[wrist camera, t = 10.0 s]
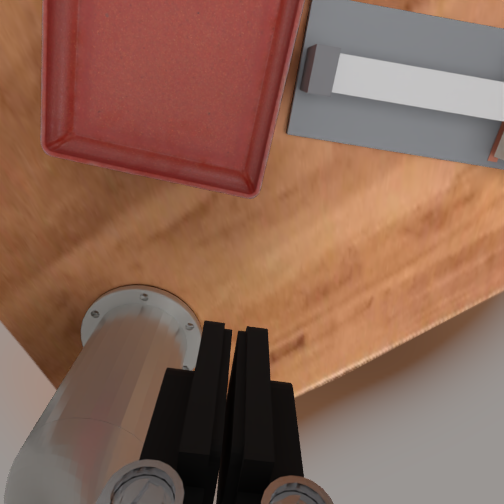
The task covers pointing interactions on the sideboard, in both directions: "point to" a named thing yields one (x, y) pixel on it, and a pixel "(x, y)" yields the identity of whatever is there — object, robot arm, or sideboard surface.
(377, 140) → the gray slide rail base
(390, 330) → the sideboard surface
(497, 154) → the white sliding block
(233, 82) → the plant saucer
